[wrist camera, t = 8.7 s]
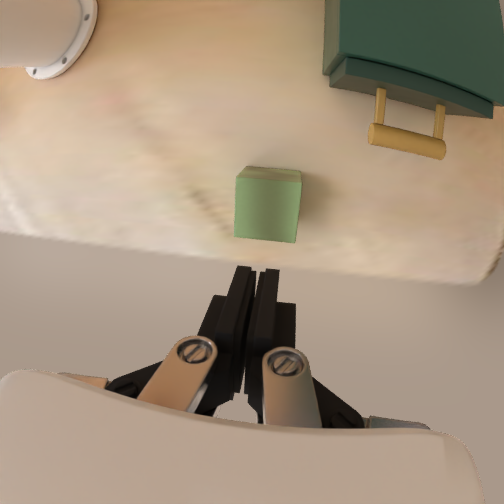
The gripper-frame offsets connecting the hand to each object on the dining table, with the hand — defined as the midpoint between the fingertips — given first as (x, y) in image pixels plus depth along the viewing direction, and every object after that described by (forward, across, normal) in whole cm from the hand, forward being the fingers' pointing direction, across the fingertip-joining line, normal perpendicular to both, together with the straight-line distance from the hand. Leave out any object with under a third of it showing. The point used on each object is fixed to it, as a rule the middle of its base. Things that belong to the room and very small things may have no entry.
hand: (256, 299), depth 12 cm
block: (+17, 0, 0) cm, 17 cm away
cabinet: (+17, -10, -19) cm, 27 cm away
